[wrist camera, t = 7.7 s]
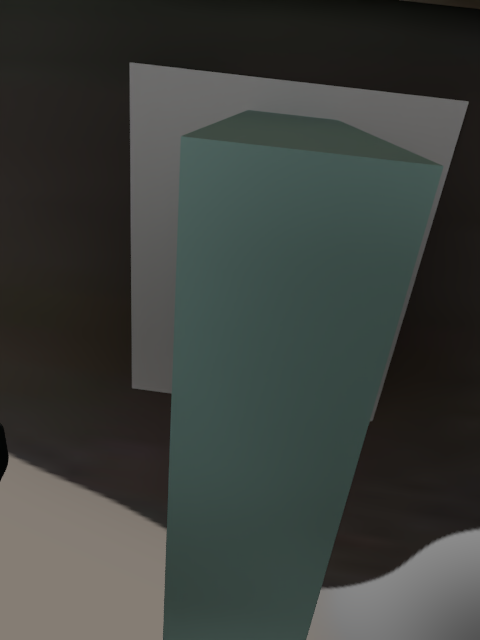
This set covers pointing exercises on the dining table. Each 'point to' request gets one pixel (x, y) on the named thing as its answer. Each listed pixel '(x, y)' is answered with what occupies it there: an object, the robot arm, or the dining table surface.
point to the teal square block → (278, 357)
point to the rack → (452, 3)
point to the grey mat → (218, 104)
